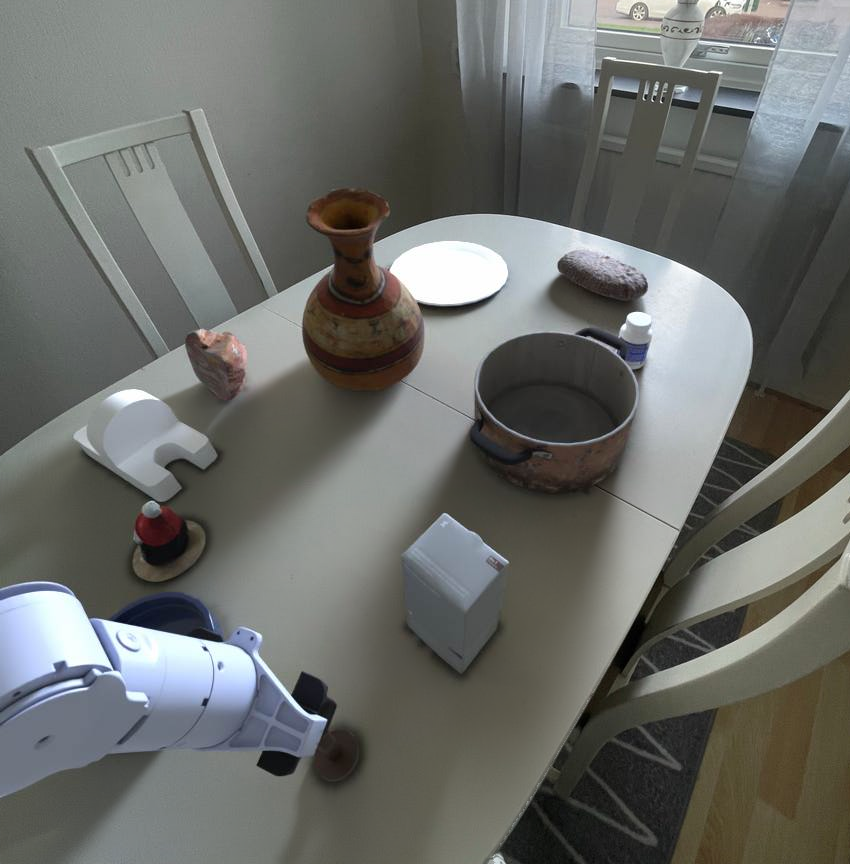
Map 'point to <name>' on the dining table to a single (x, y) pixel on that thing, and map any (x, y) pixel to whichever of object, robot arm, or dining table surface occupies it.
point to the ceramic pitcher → (359, 300)
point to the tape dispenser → (142, 441)
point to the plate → (450, 273)
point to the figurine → (165, 543)
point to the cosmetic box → (453, 590)
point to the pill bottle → (636, 338)
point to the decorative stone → (603, 275)
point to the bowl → (168, 614)
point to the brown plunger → (336, 754)
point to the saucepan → (554, 409)
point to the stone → (217, 361)
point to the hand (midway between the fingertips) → (288, 698)
